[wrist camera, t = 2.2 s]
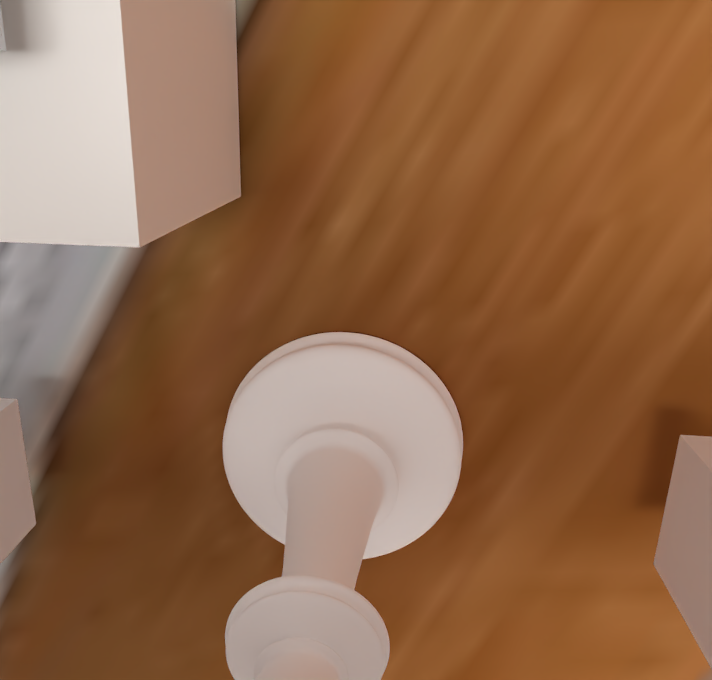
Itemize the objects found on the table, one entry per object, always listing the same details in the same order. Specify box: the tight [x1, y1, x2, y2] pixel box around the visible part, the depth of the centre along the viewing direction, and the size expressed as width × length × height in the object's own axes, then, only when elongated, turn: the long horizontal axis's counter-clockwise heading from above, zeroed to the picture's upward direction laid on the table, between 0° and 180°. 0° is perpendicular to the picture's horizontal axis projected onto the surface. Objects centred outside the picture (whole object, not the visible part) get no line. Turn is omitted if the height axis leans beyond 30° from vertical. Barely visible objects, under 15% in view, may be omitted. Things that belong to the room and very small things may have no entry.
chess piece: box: [223, 332, 463, 680], centre depth 9 cm, size 5×5×10 cm
